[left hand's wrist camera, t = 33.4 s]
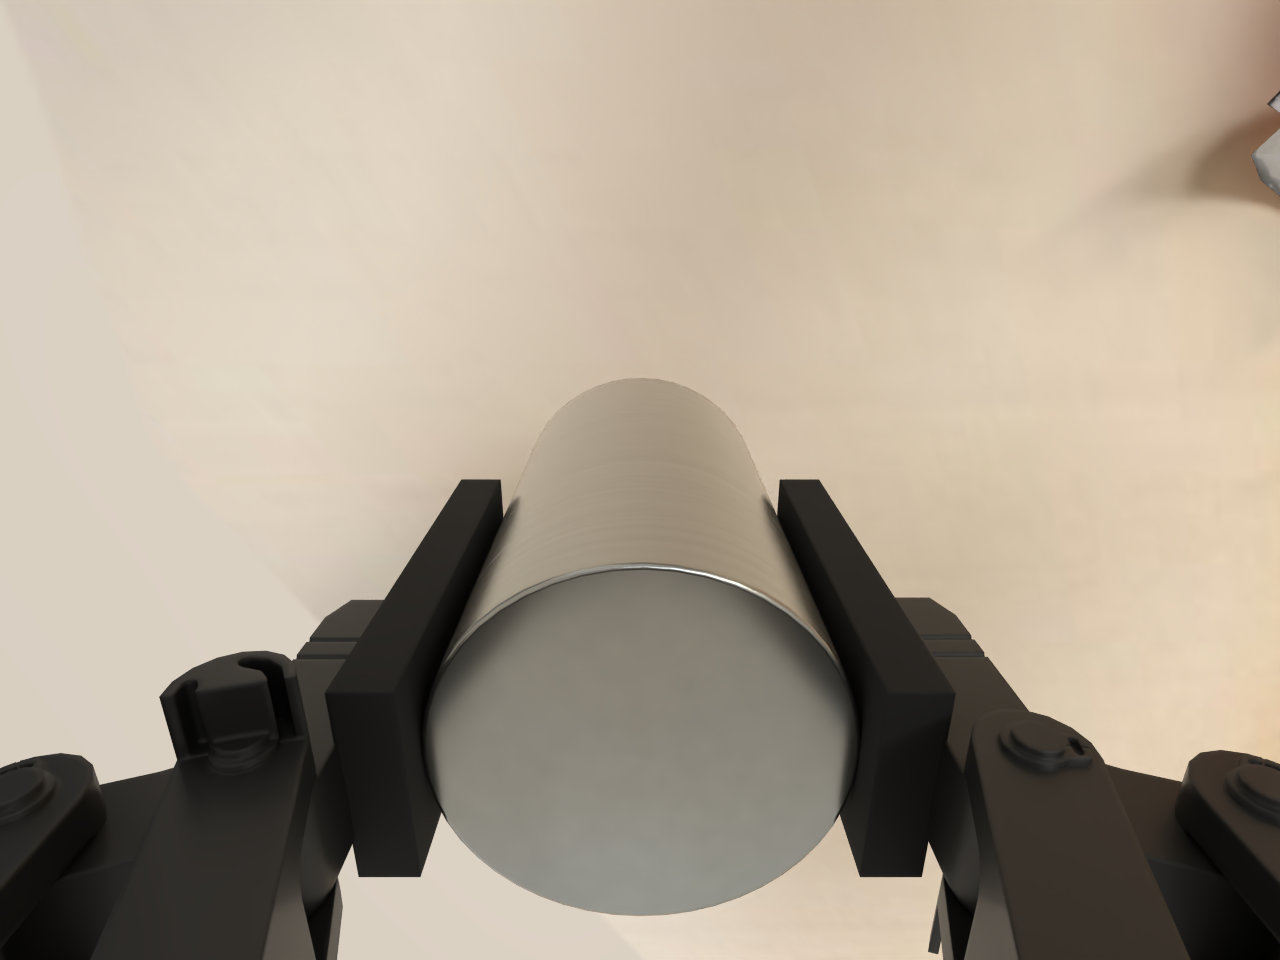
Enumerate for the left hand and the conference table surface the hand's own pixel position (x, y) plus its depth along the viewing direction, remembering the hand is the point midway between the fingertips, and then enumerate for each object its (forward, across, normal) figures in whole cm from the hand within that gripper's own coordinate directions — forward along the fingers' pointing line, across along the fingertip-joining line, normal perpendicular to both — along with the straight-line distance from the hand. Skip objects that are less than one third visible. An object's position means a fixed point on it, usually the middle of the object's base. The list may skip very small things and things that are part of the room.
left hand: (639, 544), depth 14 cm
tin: (+3, 0, 0) cm, 3 cm away
